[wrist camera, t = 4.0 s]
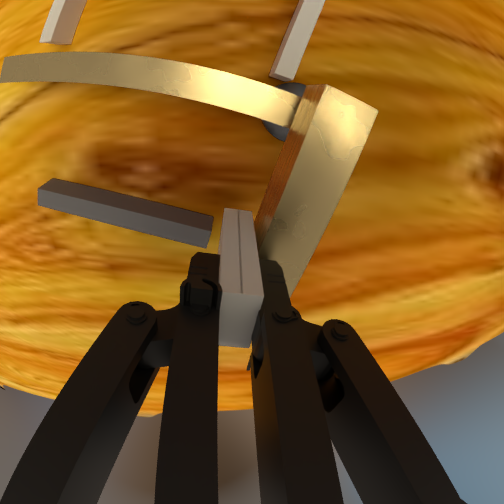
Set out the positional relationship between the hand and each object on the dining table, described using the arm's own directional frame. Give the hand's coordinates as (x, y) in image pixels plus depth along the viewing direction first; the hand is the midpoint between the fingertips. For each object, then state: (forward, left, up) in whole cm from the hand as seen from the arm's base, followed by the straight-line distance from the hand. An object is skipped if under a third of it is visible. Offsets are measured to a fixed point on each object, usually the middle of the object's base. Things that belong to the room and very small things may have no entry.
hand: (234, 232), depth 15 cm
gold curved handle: (+7, -3, -6) cm, 10 cm away
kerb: (+8, +4, -7) cm, 12 cm away
